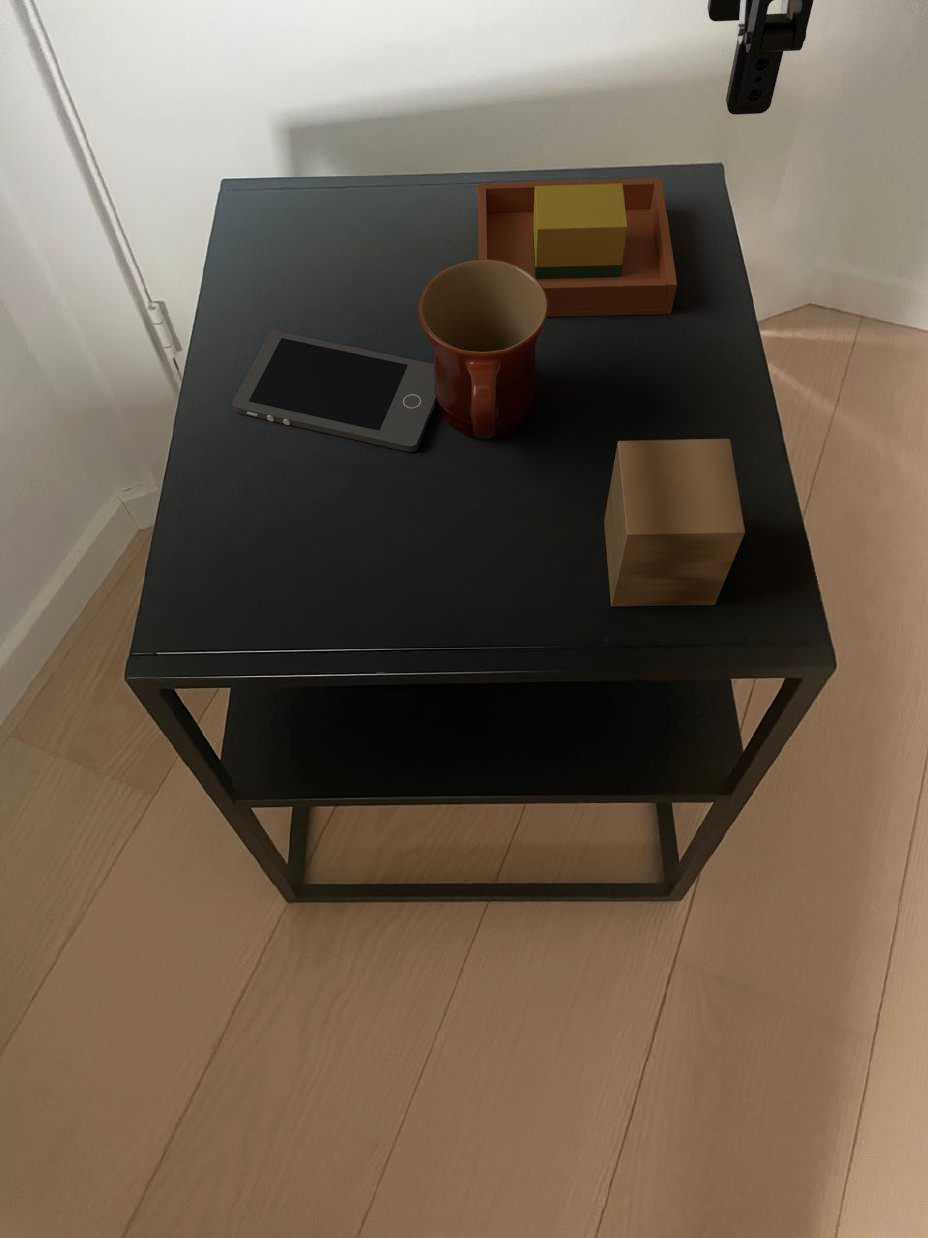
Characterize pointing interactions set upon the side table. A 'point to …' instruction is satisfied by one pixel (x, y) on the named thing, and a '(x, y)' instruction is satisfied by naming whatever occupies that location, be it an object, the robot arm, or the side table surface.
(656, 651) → the side table surface
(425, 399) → the smartphone
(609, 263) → the sponge
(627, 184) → the tray
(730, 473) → the tall wooden block
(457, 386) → the mug
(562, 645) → the side table surface
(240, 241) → the side table surface
